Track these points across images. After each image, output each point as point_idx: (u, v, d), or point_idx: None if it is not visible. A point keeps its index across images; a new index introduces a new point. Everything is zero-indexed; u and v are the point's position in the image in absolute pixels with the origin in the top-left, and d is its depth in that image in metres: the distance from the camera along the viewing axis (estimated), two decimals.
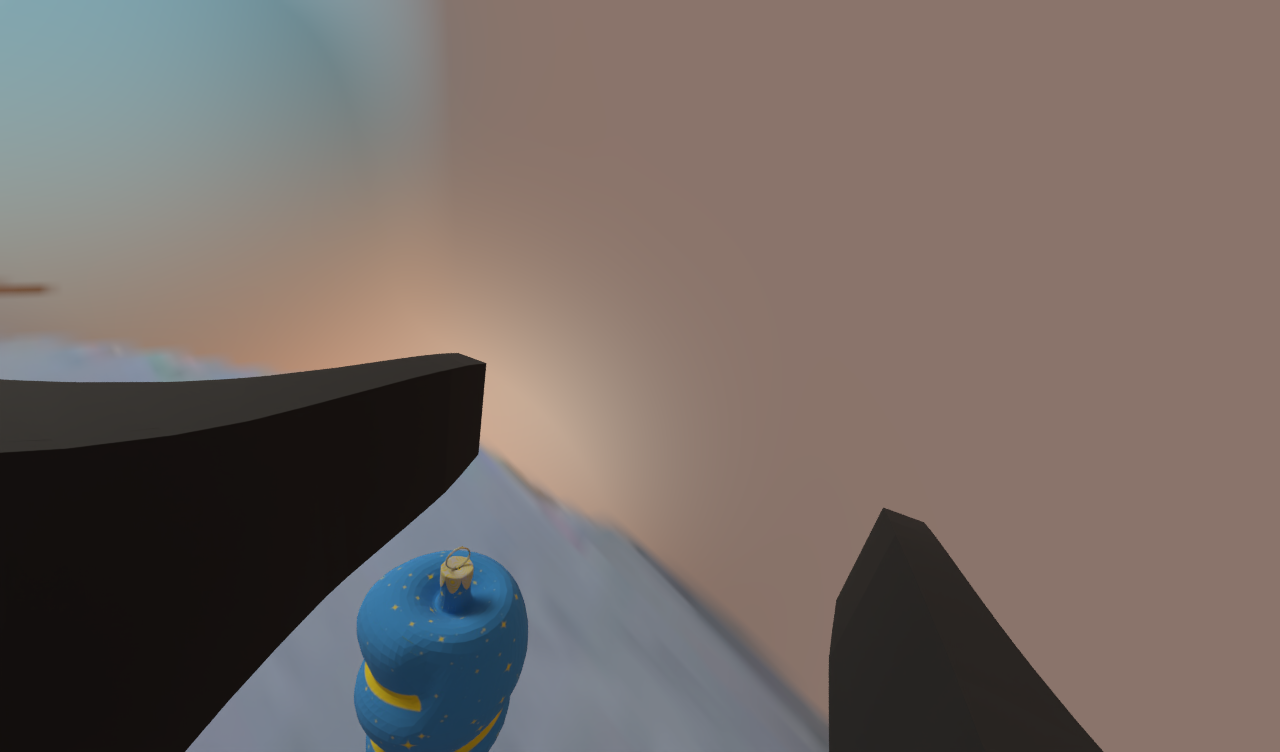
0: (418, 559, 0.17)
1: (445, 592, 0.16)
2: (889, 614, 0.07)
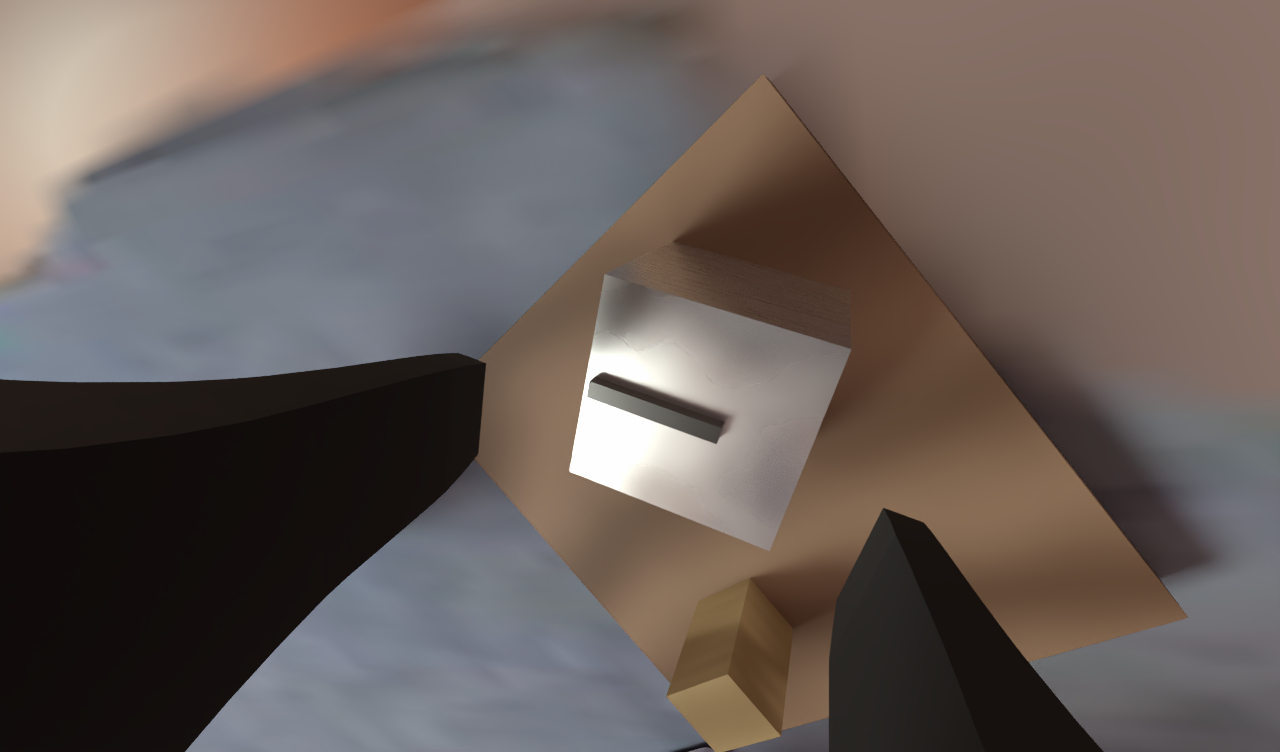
0: None
1: None
2: (889, 613, 0.07)
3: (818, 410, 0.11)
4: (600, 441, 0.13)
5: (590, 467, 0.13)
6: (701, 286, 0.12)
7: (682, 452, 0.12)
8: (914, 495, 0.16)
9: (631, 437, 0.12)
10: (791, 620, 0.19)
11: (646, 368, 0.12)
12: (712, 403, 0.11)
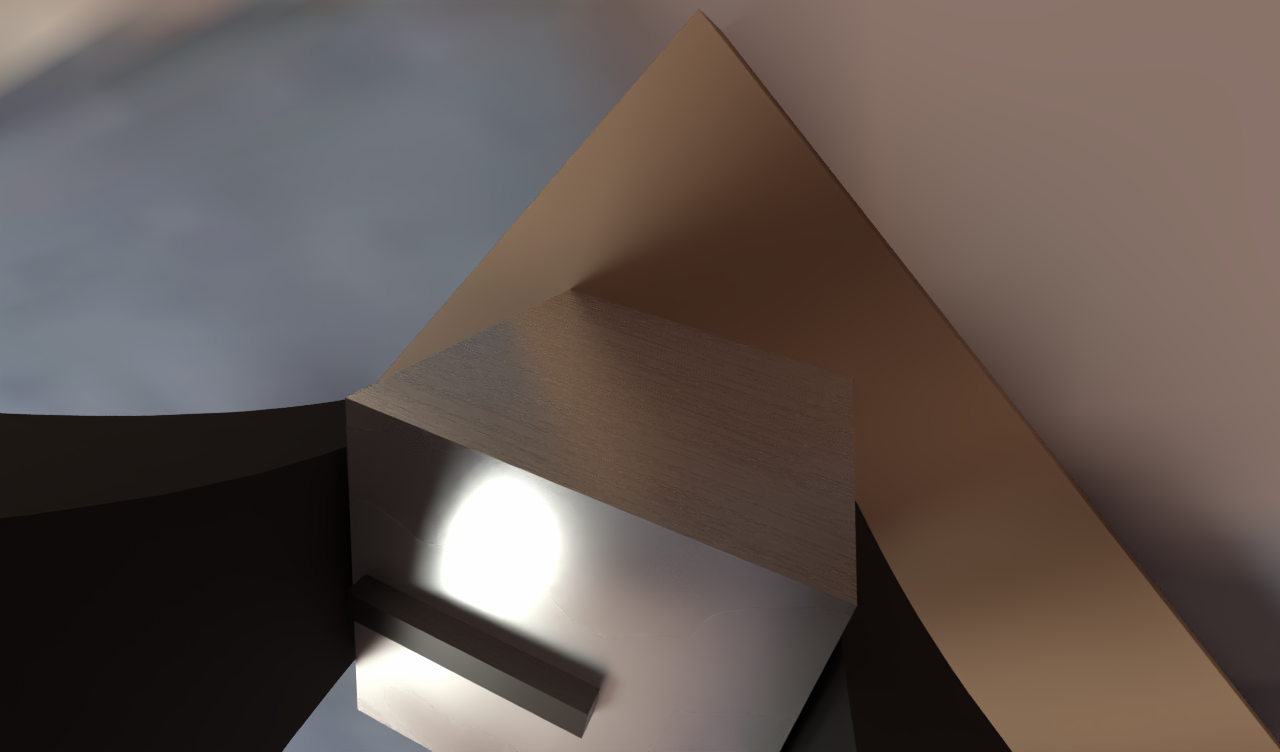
0: None
1: None
2: None
3: (784, 706, 0.05)
4: (395, 676, 0.07)
5: (388, 710, 0.07)
6: (562, 408, 0.06)
7: (531, 721, 0.06)
8: None
9: (443, 680, 0.07)
10: None
11: (448, 575, 0.06)
12: (574, 654, 0.06)
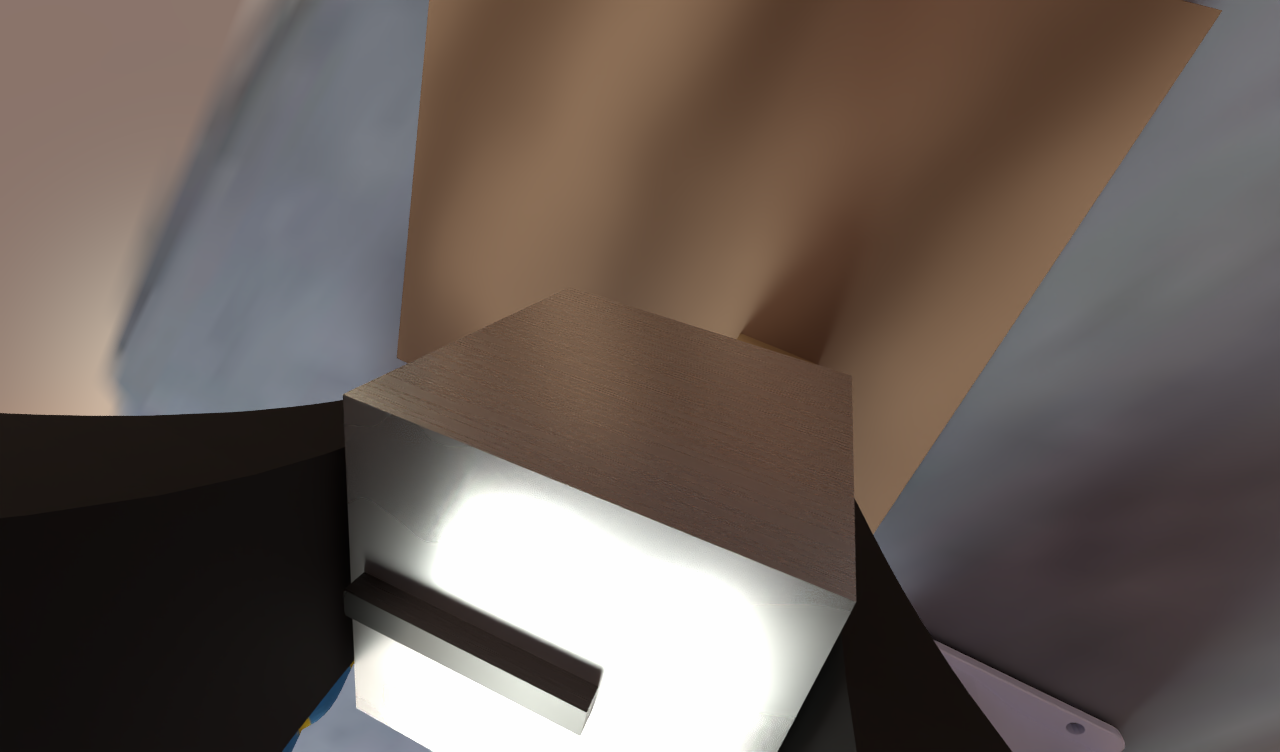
0: None
1: None
2: None
3: (784, 704, 0.05)
4: (394, 674, 0.07)
5: (386, 709, 0.07)
6: (560, 405, 0.06)
7: (530, 719, 0.06)
8: (825, 107, 0.13)
9: (441, 679, 0.07)
10: (809, 355, 0.16)
11: (446, 573, 0.06)
12: (572, 651, 0.06)
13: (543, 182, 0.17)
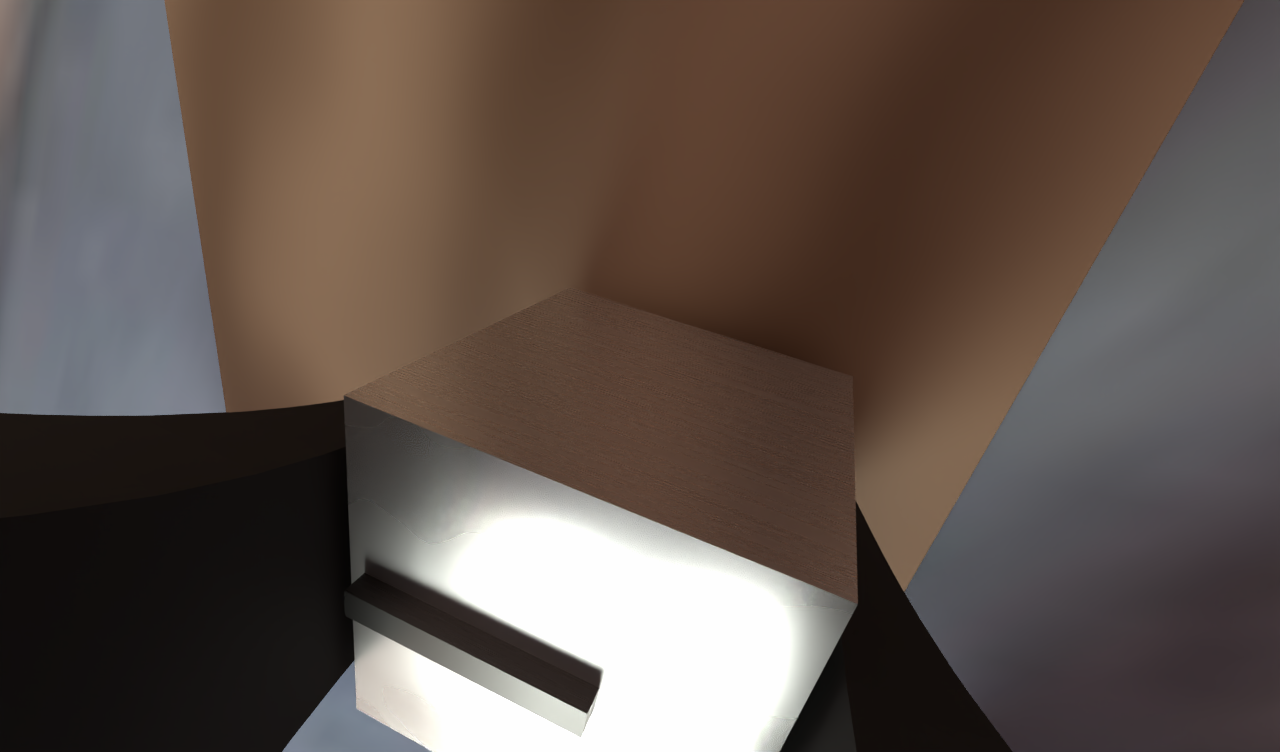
0: None
1: None
2: None
3: (786, 706, 0.05)
4: (394, 675, 0.07)
5: (387, 710, 0.07)
6: (561, 406, 0.06)
7: (530, 720, 0.06)
8: None
9: (442, 680, 0.07)
10: None
11: (447, 574, 0.06)
12: (573, 653, 0.06)
13: (343, 168, 0.11)
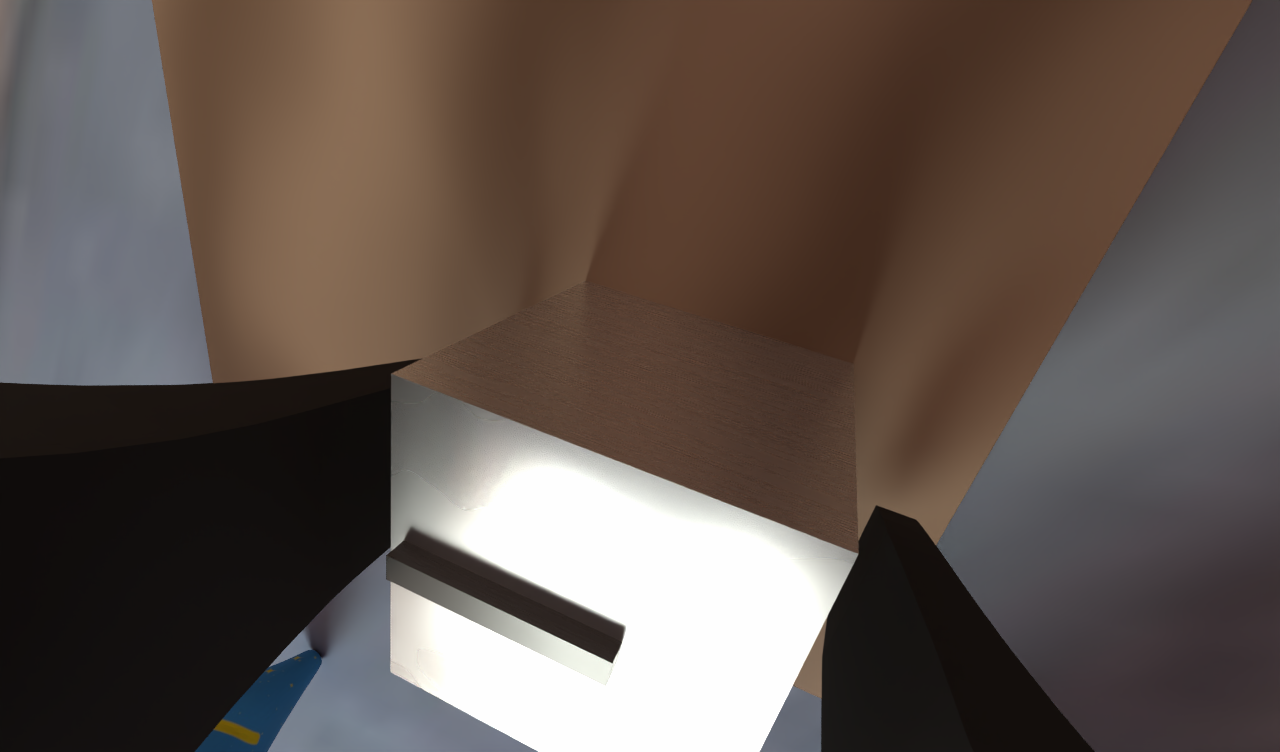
0: None
1: None
2: (881, 610, 0.07)
3: (793, 652, 0.05)
4: (428, 638, 0.07)
5: (419, 672, 0.08)
6: (586, 385, 0.07)
7: (557, 676, 0.07)
8: None
9: (474, 640, 0.07)
10: None
11: (482, 538, 0.06)
12: (599, 609, 0.06)
13: (334, 167, 0.11)
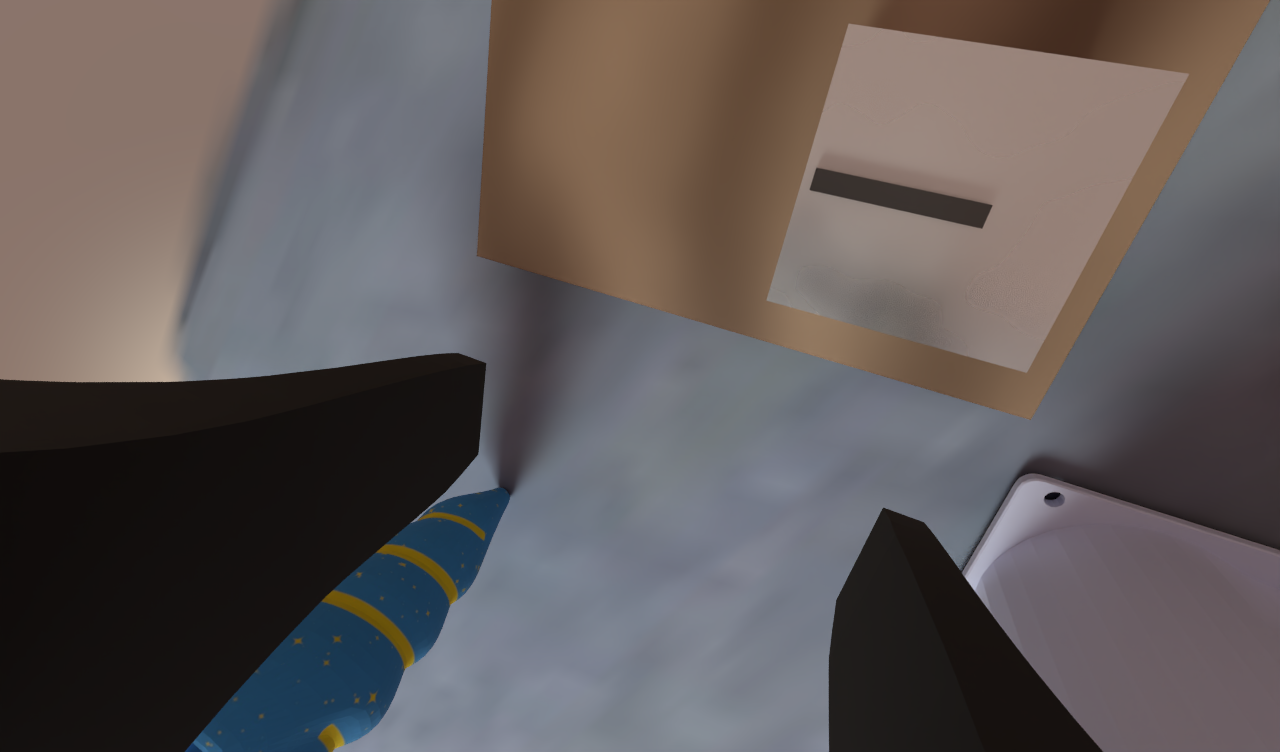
0: None
1: None
2: (889, 614, 0.07)
3: (1126, 169, 0.09)
4: (813, 254, 0.11)
5: (795, 291, 0.11)
6: None
7: (923, 254, 0.10)
8: None
9: (856, 243, 0.10)
10: None
11: (889, 145, 0.10)
12: (975, 180, 0.09)
13: (638, 0, 0.15)
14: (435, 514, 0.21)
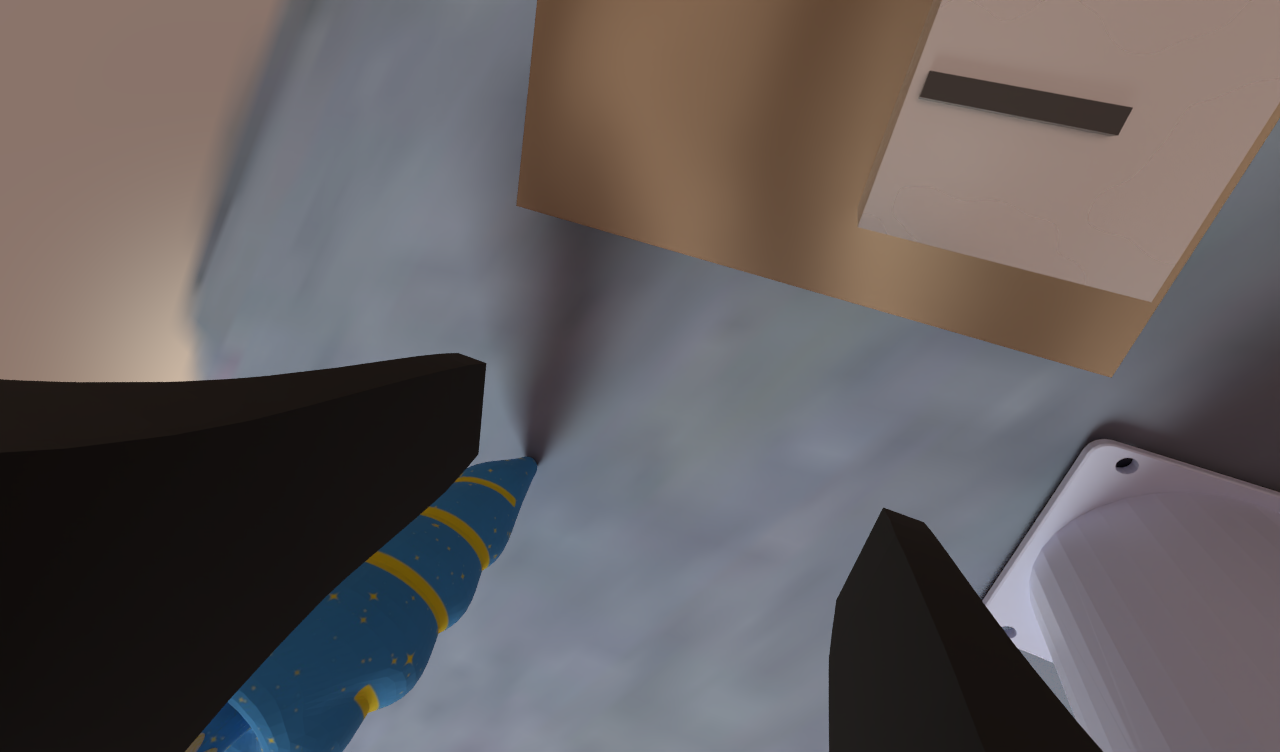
0: None
1: (221, 751, 0.12)
2: (889, 614, 0.07)
3: None
4: (915, 173, 0.10)
5: (891, 216, 0.10)
6: None
7: (1043, 169, 0.09)
8: None
9: (966, 159, 0.10)
10: None
11: (1014, 45, 0.09)
12: (1111, 83, 0.09)
13: None
14: (465, 478, 0.20)
